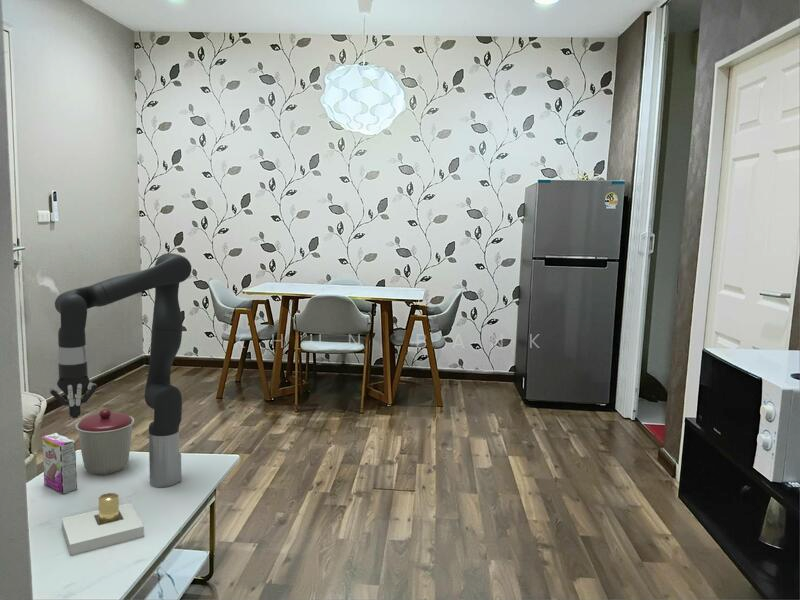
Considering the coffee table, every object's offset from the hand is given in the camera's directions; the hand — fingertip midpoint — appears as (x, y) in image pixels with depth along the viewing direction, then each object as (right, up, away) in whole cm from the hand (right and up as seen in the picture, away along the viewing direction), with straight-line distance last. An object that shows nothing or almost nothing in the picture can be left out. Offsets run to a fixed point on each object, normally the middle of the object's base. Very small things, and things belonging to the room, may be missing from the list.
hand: (74, 417), depth 182 cm
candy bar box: (-12, -25, +13) cm, 31 cm away
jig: (+14, -30, -12) cm, 35 cm away
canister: (-4, -23, +28) cm, 37 cm away
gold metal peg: (+15, -29, -9) cm, 34 cm away
